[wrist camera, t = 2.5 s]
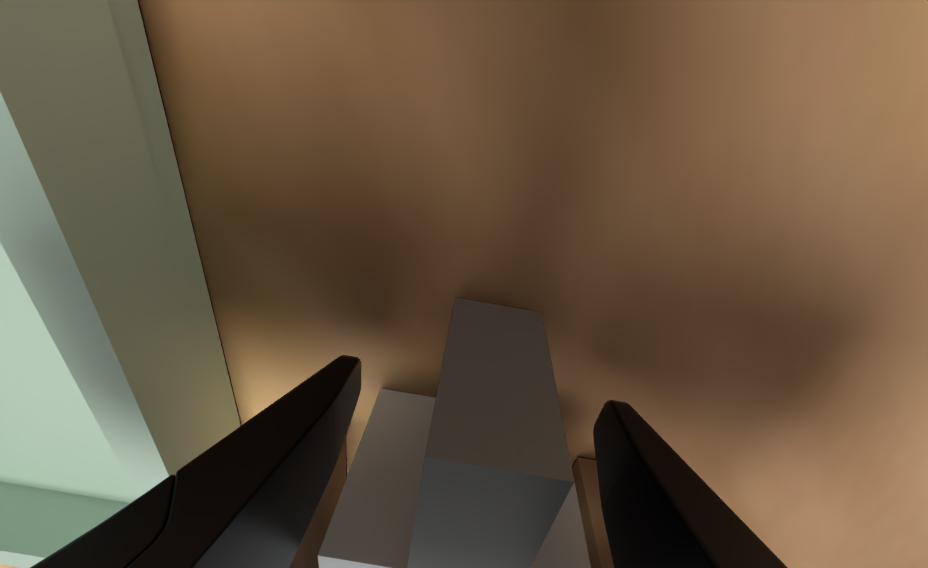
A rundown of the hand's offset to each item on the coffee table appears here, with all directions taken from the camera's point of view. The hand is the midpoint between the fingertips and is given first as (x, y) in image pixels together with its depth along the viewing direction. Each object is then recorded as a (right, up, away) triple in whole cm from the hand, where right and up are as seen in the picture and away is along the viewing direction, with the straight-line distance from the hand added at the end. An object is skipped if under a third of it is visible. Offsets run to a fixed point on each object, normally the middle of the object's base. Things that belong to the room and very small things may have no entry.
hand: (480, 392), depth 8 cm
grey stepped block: (0, -3, +4) cm, 5 cm away
